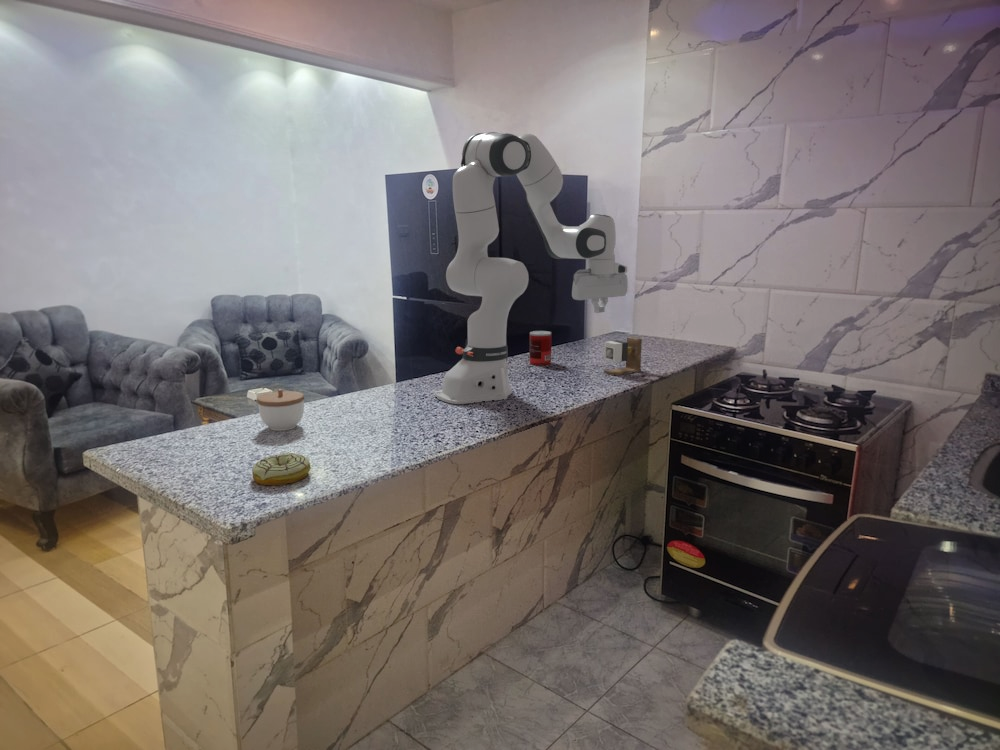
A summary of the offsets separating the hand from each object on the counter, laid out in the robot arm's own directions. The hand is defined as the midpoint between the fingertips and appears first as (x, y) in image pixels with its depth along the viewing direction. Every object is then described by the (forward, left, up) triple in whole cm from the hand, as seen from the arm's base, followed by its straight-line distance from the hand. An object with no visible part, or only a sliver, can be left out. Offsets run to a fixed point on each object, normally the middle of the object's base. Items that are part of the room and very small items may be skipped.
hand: (599, 312), depth 209 cm
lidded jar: (-100, 0, -21) cm, 102 cm away
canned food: (-3, +27, -21) cm, 34 cm away
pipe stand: (+11, 0, -21) cm, 23 cm away
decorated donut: (-109, -33, -21) cm, 116 cm away
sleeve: (+6, 0, -16) cm, 17 cm away
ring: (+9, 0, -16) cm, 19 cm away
